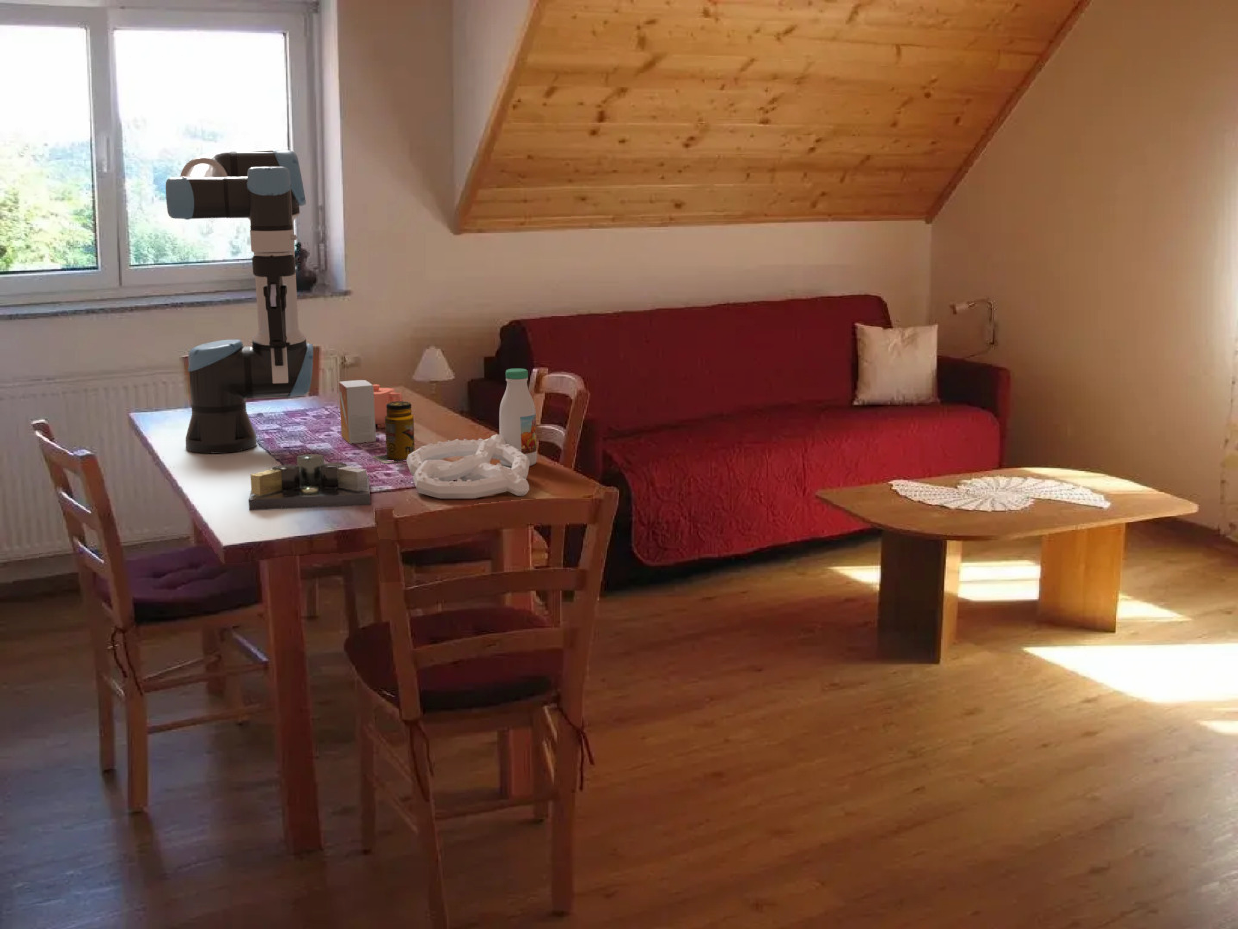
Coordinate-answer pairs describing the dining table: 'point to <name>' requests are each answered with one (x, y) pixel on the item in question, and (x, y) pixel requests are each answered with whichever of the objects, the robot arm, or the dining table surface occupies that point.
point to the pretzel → (469, 469)
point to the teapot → (383, 403)
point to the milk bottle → (518, 415)
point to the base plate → (310, 490)
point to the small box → (357, 411)
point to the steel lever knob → (343, 476)
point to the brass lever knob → (275, 479)
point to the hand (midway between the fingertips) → (280, 382)
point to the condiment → (398, 432)
